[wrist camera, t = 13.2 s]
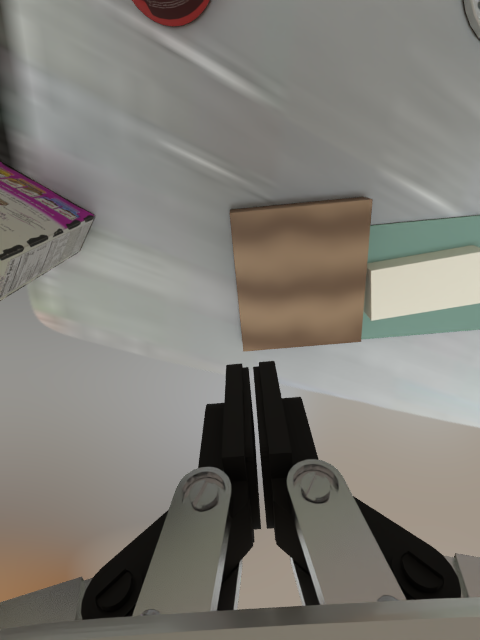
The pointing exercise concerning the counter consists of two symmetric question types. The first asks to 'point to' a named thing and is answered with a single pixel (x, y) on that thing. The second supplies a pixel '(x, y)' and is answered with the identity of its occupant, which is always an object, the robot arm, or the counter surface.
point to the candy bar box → (35, 230)
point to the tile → (422, 283)
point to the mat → (414, 241)
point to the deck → (301, 272)
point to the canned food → (172, 10)
